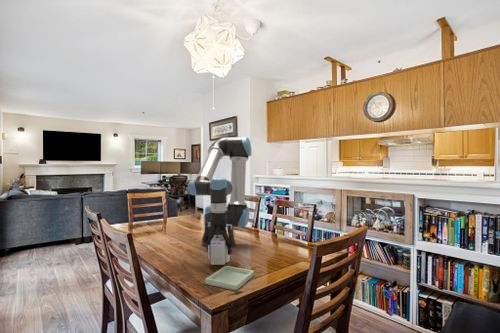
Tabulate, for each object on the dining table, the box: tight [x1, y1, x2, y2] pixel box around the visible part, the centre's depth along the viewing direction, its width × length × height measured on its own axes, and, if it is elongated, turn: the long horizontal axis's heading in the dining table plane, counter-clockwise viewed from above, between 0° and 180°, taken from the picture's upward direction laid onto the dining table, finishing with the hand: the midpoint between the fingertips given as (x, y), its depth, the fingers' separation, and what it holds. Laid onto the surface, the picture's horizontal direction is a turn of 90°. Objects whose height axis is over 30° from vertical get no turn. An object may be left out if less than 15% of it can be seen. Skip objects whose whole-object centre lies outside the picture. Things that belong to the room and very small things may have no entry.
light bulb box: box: [210, 235, 227, 266], centre depth 129 cm, size 11×7×11 cm, turn 1°
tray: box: [204, 265, 255, 292], centre depth 114 cm, size 14×16×2 cm
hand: (218, 259), depth 128 cm, fingers closed on light bulb box, 9 cm apart
